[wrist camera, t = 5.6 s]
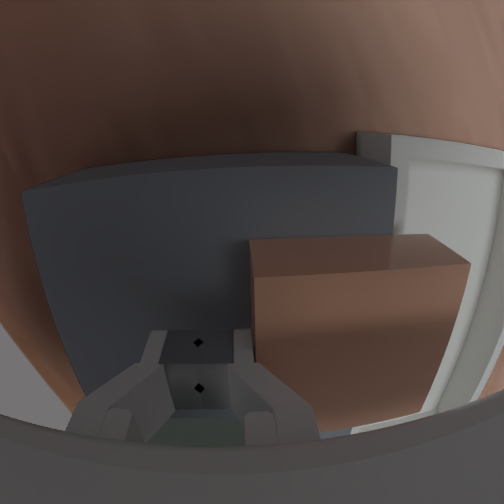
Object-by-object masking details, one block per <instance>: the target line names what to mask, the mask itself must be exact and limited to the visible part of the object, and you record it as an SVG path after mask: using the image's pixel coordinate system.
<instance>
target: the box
mask: <svg viewBox="0 0 504 504" xmlns="http://www.w3.org/2000/svg"><path fill="white" fill-rule="evenodd" d="M356 156H360V157H363V158H367V159H370V160H374V161H377V162H381V163H384V164H387V165H391V166H394V167H397V168H398V175H397V191H396V204H395V216H394V226H393V235H400V234H429V235H431V236H432V237H434V238H435V239H437V240H438V241H440V242H441V243H443V244H444V245H446V246H447V247H449V248H450V249H452V250H453V251H454V252H456V253H457V254H459V255H460V256H462V257H463V258H464V259H466V260H467V261H469V262H470V263H471V268H470V272H469V276H468V280H467V284H466V288H465V291H464V295H463V299H462V302H461V306H460V309H459V312H458V316H457V319H456V322H455V325H454V328H453V331H452V334H451V337H450V340H449V343H448V346H447V348H446V351H445V354H444V357H443V359H442V362H441V364H440V367H439V369H438V372H437V374H436V377H435V379H434V382H433V384H432V386H431V389H430V391H429V393H428V395H427V398H426V400H425V402H424V404H423V406H422V409H421V411H420V412H418V413H414V414H411V415H407V416H403V417H399V418H395V419H390V420H386V421H382V422H377V423H372V424H367V425H362V426H357V427H352V430H351V433H350V434H356V433H361V432H366V431H371V430H376V429H380V428H385V427H389V426H394V425H398V424H402V423H406V422H409V421H413V420H417V419H420V418H424V417H427V416H431V415H434V414H437V413H441V412H444V411H447V410H450V409H453V408H456V407H459V406H462V405H465V404H467V403H470V402H473V401H476V400H477V399H478V397H479V395H480V393H481V392H482V390H483V388H484V386H485V384H486V382H487V380H488V378H489V376H490V374H491V372H492V370H493V367H494V365H495V363H496V361H497V359H498V357H499V354H500V352H501V350H502V347H503V345H504V151H503V150H498V149H493V148H488V147H483V146H477V145H472V144H466V143H460V142H453V141H447V140H439V139H432V138H424V137H416V136H407V135H397V134H386V133H373V132H358V131H356Z"/></svg>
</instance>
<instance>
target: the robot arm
mask: <svg viewBox="0 0 504 504" xmlns="http://www.w3.org/2000/svg"><path fill="white" fill-rule="evenodd" d="M175 409H213V410H232V411H233V413H234V414H235V415H236V416H237V418H238V419H239V420H240V422H241V423H242V424H243V425H244V427H245V446H179V445H161V444H149V443H147V442H148V441H149V440H150V438H151V437H152V436H153V435H154V434H155V433H156V432H157V431H158V430H159V429H160V427H161V426H162V425H163V424H164V423H165V422H166V421H167V420H168V419H169V417H170V416H171V415H172V414H173V413H174V412H175ZM0 504H504V389H503V390H501V391H498V392H496V393H494V394H491V395H489V396H486V397H483V398H481V399H478V400H476V401H473V402H470V403H467V404H465V405H462V406H459V407H456V408H453V409H450V410H447V411H444V412H441V413H437V414H434V415H431V416H427V417H424V418H420V419H417V420H413V421H409V422H406V423H402V424H398V425H394V426H389V427H385V428H380V429H376V430H371V431H366V432H361V433H356V434H350V435H345V436H339V437H333V438H326V439H321V438H320V434H319V430H318V426H317V422H316V418H315V415H314V411H313V407H312V405H310V404H309V403H308V402H307V401H305V400H304V399H303V398H301V397H300V396H299V395H298V394H296V393H295V392H294V391H293V390H292V389H290V388H289V387H288V386H287V385H285V384H284V383H283V382H282V381H281V380H279V379H278V378H277V377H276V376H275V375H273V374H272V373H271V372H270V371H269V370H267V369H266V368H265V367H264V366H263V365H261V364H260V363H254V355H253V343H252V331H251V329H250V328H244V329H234V330H212V331H201V330H169V331H168V330H153V331H151V333H150V335H149V338H148V341H147V344H146V346H145V349H144V352H143V355H142V358H141V360H140V363H134V364H133V365H132V366H130V367H129V368H127V369H126V370H124V371H123V372H121V373H120V374H119V375H117V376H116V377H114V378H113V379H111V380H110V381H108V382H107V383H105V384H104V385H102V386H101V387H100V388H98V389H97V390H95V391H94V392H92V393H91V394H89V395H88V396H86V397H85V398H83V399H82V400H80V401H79V402H78V403H77V405H76V408H75V410H74V412H73V414H72V417H71V419H70V421H69V423H68V426H67V428H66V430H65V431H62V430H57V429H52V428H48V427H44V426H40V425H36V424H32V423H29V422H25V421H21V420H18V419H14V418H11V417H8V416H4V415H1V414H0Z"/></svg>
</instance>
